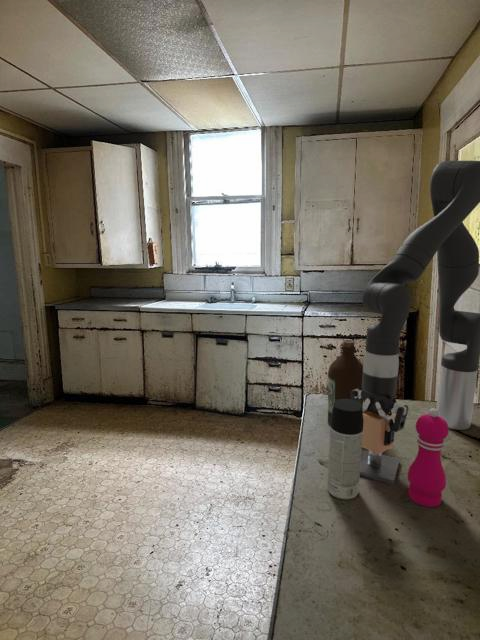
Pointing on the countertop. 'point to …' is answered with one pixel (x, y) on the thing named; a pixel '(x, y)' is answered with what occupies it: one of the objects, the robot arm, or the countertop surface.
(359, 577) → the countertop surface
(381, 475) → the flange
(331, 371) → the olive oil
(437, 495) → the pepper mill
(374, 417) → the duct sleeve
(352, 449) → the spray can
